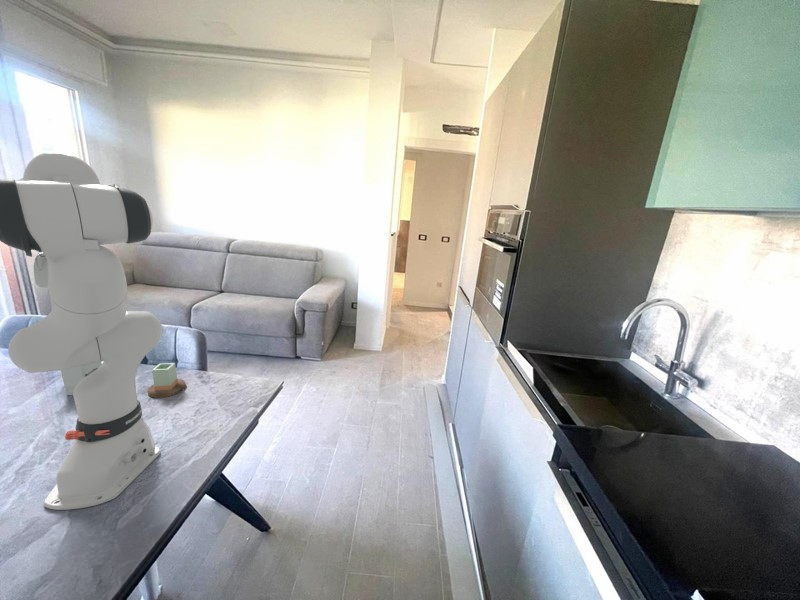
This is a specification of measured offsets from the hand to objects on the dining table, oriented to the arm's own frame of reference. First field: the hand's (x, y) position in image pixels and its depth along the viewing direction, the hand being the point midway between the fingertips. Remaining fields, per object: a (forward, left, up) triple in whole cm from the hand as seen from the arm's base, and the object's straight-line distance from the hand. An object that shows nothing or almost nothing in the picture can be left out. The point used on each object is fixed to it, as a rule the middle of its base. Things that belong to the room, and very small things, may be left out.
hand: (76, 295), depth 94 cm
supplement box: (+10, +10, -37) cm, 40 cm away
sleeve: (+8, -16, -36) cm, 40 cm away
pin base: (+8, -16, -37) cm, 41 cm away
